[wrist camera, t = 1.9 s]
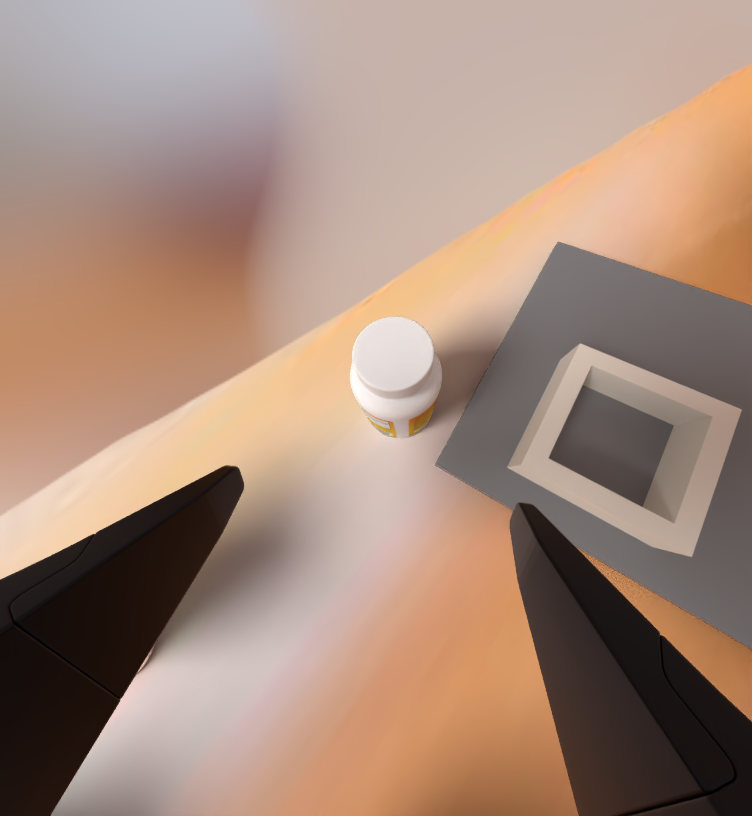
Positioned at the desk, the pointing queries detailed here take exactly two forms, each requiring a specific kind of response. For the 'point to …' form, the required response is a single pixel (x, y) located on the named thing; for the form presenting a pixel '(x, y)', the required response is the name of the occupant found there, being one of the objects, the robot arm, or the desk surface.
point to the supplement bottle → (396, 376)
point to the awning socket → (626, 429)
